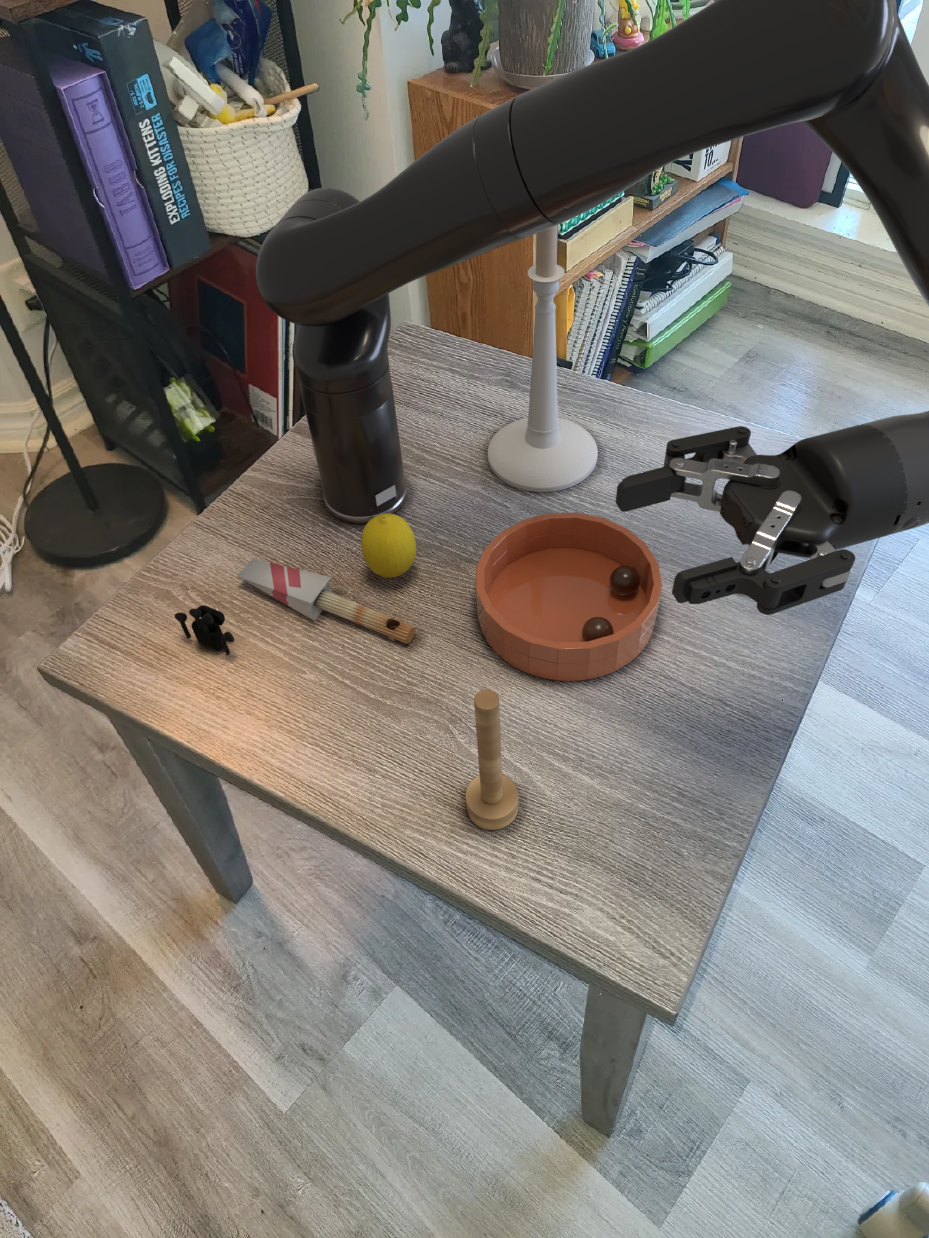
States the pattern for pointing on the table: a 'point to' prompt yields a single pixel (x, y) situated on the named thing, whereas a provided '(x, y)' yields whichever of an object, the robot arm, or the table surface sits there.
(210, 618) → the wireless earbuds
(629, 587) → the bead
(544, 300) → the candlestick
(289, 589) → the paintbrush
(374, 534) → the lemon
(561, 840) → the table surface
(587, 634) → the bead
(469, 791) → the wooden peg stand
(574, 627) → the bowl
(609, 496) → the table surface
